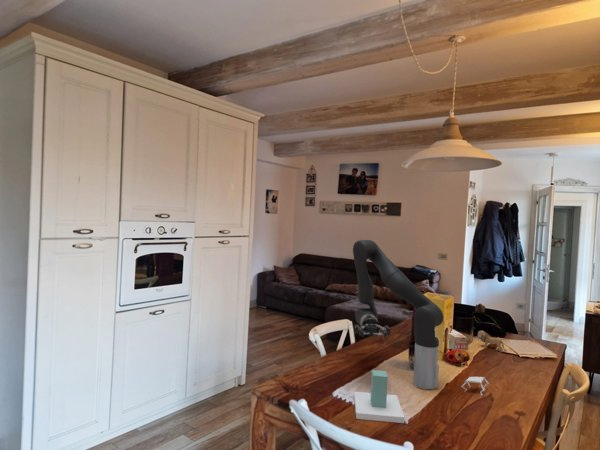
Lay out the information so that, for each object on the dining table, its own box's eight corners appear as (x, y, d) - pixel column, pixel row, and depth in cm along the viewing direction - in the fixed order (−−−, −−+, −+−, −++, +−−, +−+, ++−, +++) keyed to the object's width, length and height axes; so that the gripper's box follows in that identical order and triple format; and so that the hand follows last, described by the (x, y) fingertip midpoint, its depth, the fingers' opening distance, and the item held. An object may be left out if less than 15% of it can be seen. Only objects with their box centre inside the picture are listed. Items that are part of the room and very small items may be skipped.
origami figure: (480, 398, 149) (480, 386, 149) (460, 390, 156) (460, 378, 156) (494, 391, 157) (495, 379, 156) (474, 383, 163) (475, 372, 163)
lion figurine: (476, 347, 211) (477, 331, 211) (477, 344, 216) (478, 328, 216) (506, 353, 203) (507, 336, 203) (507, 350, 208) (508, 334, 208)
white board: (396, 400, 144) (396, 395, 144) (404, 423, 128) (404, 417, 128) (353, 396, 146) (354, 391, 146) (356, 418, 130) (356, 413, 130)
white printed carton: (432, 346, 209) (433, 324, 209) (443, 346, 210) (444, 324, 210) (453, 361, 188) (455, 336, 188) (465, 361, 189) (467, 336, 189)
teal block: (384, 401, 139) (385, 371, 139) (386, 407, 134) (387, 376, 134) (370, 399, 140) (371, 370, 139) (371, 406, 135) (373, 375, 134)
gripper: (353, 315, 166) (355, 324, 150) (386, 316, 165) (392, 325, 149) (353, 332, 166) (355, 343, 150) (386, 333, 165) (392, 345, 149)
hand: (373, 334), depth 149 cm, fingers open, 8 cm apart
